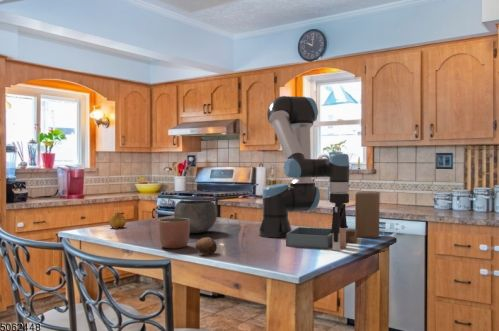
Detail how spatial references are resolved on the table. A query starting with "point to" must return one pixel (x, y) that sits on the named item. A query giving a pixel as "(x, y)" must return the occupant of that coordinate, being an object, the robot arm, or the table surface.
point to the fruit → (117, 220)
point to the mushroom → (206, 246)
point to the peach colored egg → (342, 238)
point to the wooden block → (367, 214)
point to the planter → (174, 232)
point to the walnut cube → (351, 236)
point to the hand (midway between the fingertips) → (339, 247)
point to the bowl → (197, 214)
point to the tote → (310, 238)
